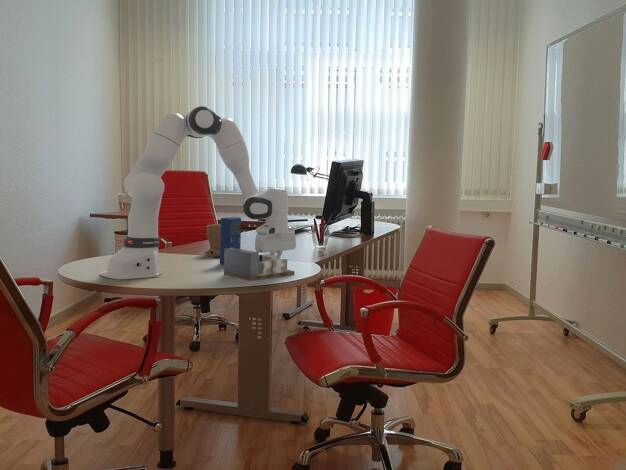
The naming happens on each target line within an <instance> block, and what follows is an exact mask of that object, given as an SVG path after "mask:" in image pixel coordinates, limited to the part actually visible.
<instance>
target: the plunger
mask: <svg viewBox="0 0 626 470" xmlns="http://www.w3.org/2000/svg"><path fill="white" fill-rule="evenodd" d="M259 255H263V261H270V260H276V255H277V254H275V255H270V253H259ZM259 262H262V261H259Z"/></svg>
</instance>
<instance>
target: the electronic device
mask: <svg viewBox="0 0 626 470" xmlns="http://www.w3.org/2000/svg"><path fill="white" fill-rule="evenodd" d="M220 224H221V248H220V256H219V265H221V266H224V248H237V249H241V242H242V241H241V239H242V235H241V232H242V218H241V217H239V216H231V217H229V216H228V217H221V218H220Z"/></svg>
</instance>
